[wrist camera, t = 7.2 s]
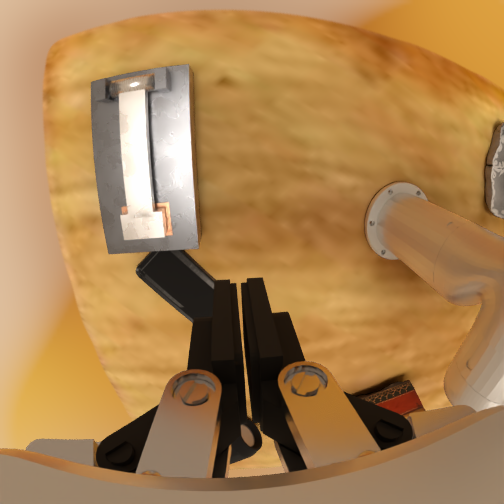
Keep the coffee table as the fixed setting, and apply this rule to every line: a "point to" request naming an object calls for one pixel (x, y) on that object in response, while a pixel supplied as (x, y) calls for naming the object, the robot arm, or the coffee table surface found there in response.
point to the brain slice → (495, 174)
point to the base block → (162, 160)
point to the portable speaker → (246, 442)
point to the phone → (179, 282)
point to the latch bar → (137, 159)
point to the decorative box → (396, 398)
